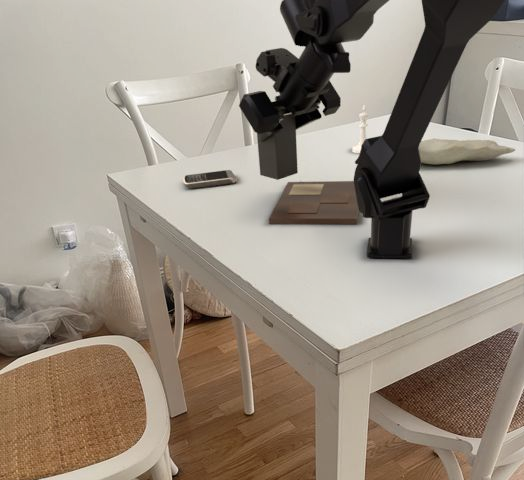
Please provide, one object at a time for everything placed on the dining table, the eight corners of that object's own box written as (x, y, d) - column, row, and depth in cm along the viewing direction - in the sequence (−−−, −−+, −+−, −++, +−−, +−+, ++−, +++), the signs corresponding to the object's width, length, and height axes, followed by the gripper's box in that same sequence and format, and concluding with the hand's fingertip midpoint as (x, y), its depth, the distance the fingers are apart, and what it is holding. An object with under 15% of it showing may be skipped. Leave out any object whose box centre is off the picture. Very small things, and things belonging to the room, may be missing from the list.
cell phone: (183, 182, 117) (182, 175, 116) (233, 175, 118) (233, 169, 117) (184, 190, 112) (183, 183, 111) (237, 183, 113) (236, 177, 112)
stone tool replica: (390, 166, 110) (522, 163, 104) (391, 139, 108) (526, 134, 103) (390, 164, 123) (506, 161, 118) (391, 140, 122) (510, 136, 116)
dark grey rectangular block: (297, 173, 100) (294, 103, 93) (277, 180, 97) (273, 108, 91) (280, 168, 103) (276, 100, 96) (260, 175, 101) (254, 106, 94)
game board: (356, 224, 90) (356, 218, 89) (269, 224, 93) (268, 218, 93) (363, 186, 106) (363, 180, 105) (288, 186, 109) (287, 181, 109)
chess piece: (350, 153, 126) (351, 107, 120) (353, 147, 130) (354, 102, 124) (371, 153, 124) (373, 106, 119) (374, 147, 128) (376, 102, 123)
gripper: (328, 22, 89) (287, 91, 103) (240, 36, 80) (207, 109, 93) (363, 78, 88) (317, 139, 102) (278, 98, 79) (239, 162, 93)
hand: (271, 136), depth 98 cm, fingers closed on dark grey rectangular block, 5 cm apart
